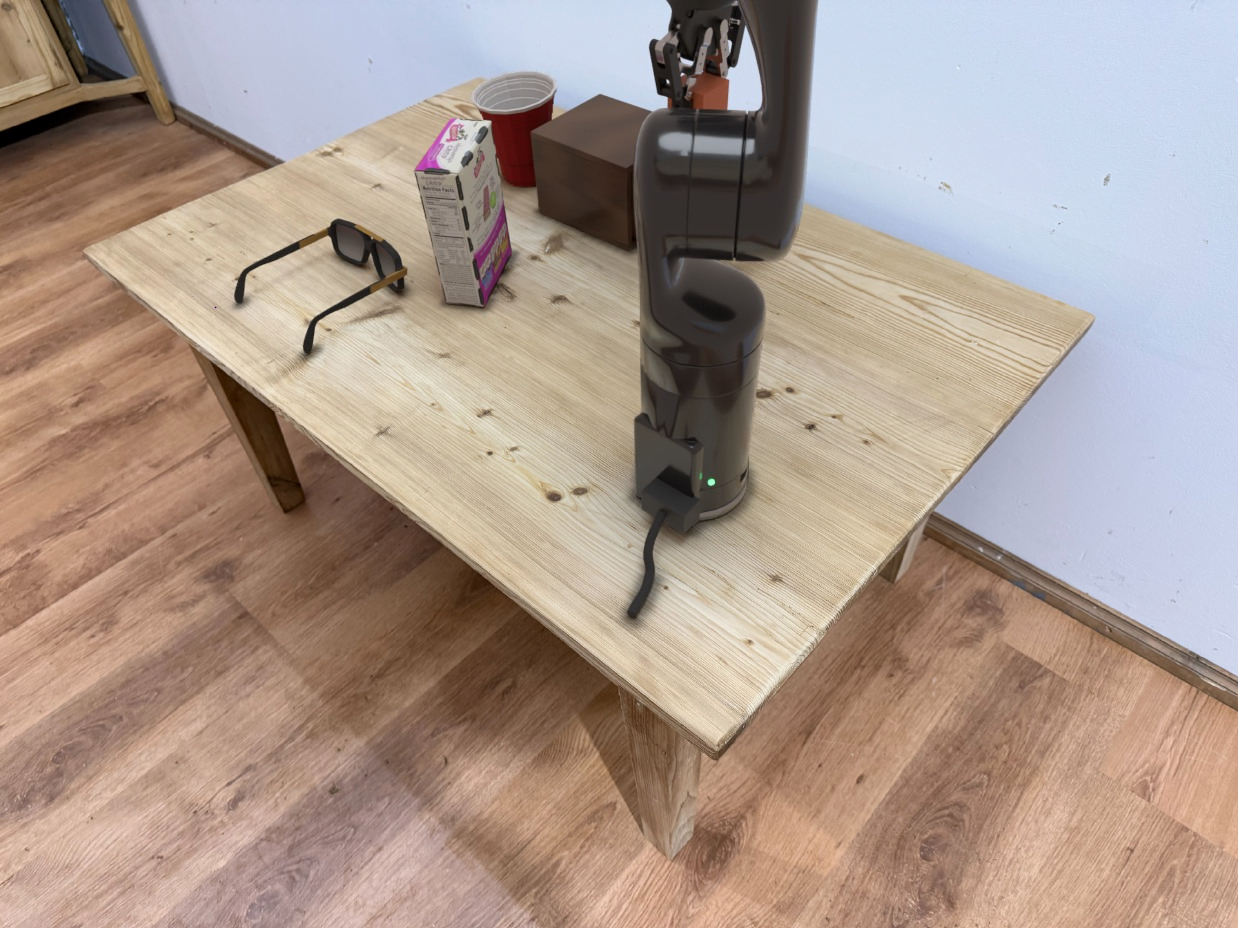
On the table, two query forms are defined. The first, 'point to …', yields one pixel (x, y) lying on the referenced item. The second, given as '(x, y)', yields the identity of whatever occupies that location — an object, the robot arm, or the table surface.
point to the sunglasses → (353, 248)
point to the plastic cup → (516, 118)
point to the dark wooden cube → (589, 167)
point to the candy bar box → (465, 210)
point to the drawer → (632, 208)
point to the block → (708, 92)
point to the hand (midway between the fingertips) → (696, 121)
